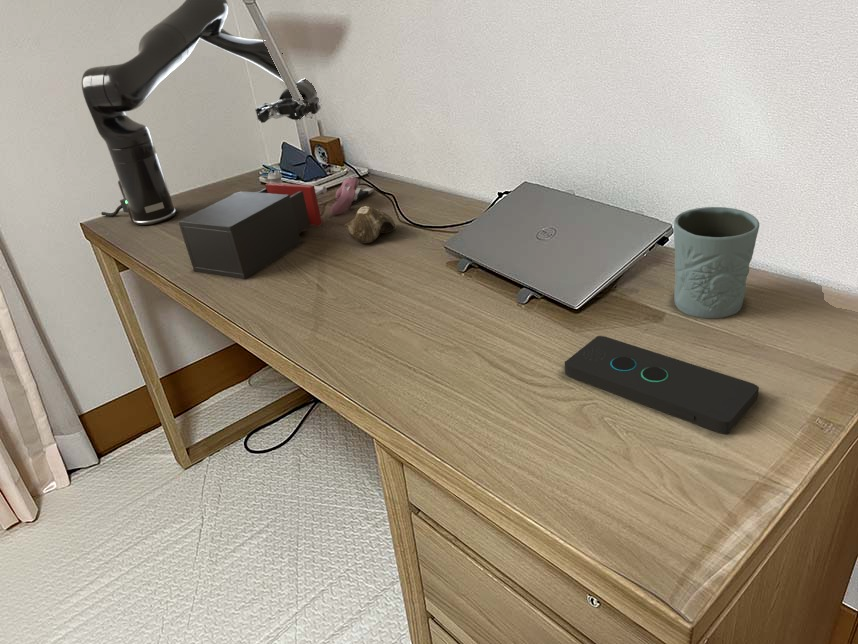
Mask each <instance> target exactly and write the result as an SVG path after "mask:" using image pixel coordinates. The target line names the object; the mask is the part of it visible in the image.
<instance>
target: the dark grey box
mask: <svg viewBox="0 0 858 644" xmlns="http://www.w3.org/2000/svg"><path fill="white" fill-rule="evenodd" d="M257 192H258V191H255V192H254V191H243V190H242V191H241V190H238V191H236V192H234V193H233V194H231V195H229V196H226V197H224V198H223V199H220V200H218V201H217V202H215V203H212V204H211V205H209V206H206V207H204V208H202V209H200V210H198V211H196V212H195V213H192V214H190V215H188V216H186V217H184V218H182V219H180V220H178V221H177V223H178V226H179V229H180V232H181V235H182V238H183V242H184V245H185V248H186V251H187V254H188V258H189V260H190V263H191V266H192V269H193V271H194V272H197V273H204V274H210V275H215V276H216V275H218V276H224V277H229V278H236V279H243V280H246V279H247V278H249V277H250V276H252V275H254V274H255V273H256V272H259V271H260V270H261V269H263V268H264V267H266V266H268V265H269V264H271V263H273V262H274V261H275V260H277V259H279V258H280V257H282V256H283V255H285V254H287V253H288V252H290V251H292V250H293V249H294V248H296V247H298V246H299V245H301V244H302V242H301V237H300V233H299V232H298V228H297V224H296V220H295V215H294V211H293V207H292V203H291V199H290V195H285V194H271V193H257Z"/></svg>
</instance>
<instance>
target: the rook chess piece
mask: <svg viewBox="0 0 858 644" xmlns="http://www.w3.org/2000/svg"><path fill="white" fill-rule="evenodd" d="M282 177H283V174H282V173H281V172H280V170H274V171H273V170H272V171H270V172H268V173H267V180H268V181H269V183H281V184H284V183H283V182H284V181H283V180H282V179H283V178H282Z"/></svg>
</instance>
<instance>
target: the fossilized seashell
mask: <svg viewBox="0 0 858 644" xmlns="http://www.w3.org/2000/svg"><path fill="white" fill-rule="evenodd" d="M396 226H397V225H396V222H395V221H394V218H393V217H392V216H391V215H389V214H387V213H385V212H384V211H381V209H380V208H379V207H376V208H374V207H371V206H369V205H365V206H362V207H360V208H358V210H357V212H356V214H355V217H354V218H353V219H352V220H350V221H348V222H347V223H345V224H344V228H346V230H347V232H348V234H349V236H350V237H351V238H352V239H353V240H354V241H356V242H358V243H361V244H370V243H372V242H374V241H375V240H376V239H377V238H378V237H379V236H380V234H385V233H390V232H393V231H394V230H395V229H396Z"/></svg>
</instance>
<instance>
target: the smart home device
mask: <svg viewBox="0 0 858 644" xmlns="http://www.w3.org/2000/svg"><path fill="white" fill-rule="evenodd" d="M564 374H565V375H566V376H567V377H569V378H571V379H574V380H577V381H579V382H581V383H585V384H587V385H590V386H593V387H595V388H598V389H601V390H603V391H606V392H607V393H608V392H609V393H611V394H614V395H617V396H619V397H621V398H624V399H627V400H630V401H633V402H635V403H638V404H641V405H643V406H645V407H648V408H651V409H653V410H657V411H659V412H662V413H665V414H667V415H670V416H672V417H675V418H677V419H680V420H683V421H686V422H688V423H691V424H693V425H697V426H699V427H701V428H704V429H707V430H710V431H712V432H715V433H719V434H723V435H728V434H730V432H731V431H732V430H733V429H734V428H735V427H736V425H737V424H738V423H739V422H740V421H741V419H742V418H743V417H744V416H745V415H746V414H747V412H748V411H749V410H750V409H751V408H752V407H753V406H754V404H755V403H756V402H757V401H758V398H759V391H760V386H758V385H757V384H755V383H753V382H750V381H747V380H744V379H741V378H737V377H734V376H731V375H728V374H724V373H721V372H719V371H716V370H712V369H708V368H706V367H702V366H700V365H697V364H693V363H690V362H688V361H687V362H686V361H684V360H680V359H676V358H675V357H672V356H668V355H665V354H662V353H659V352H655V351H652V350H649V349H646V348H643V347H640V346H636V345H633V344H630V343H627V342H624V341H621V340H618V339H616V338H615V339H614V338H612V337H608V336H604V335H597V336H595V337H594V338H593V339H592V340H590V341H589V342H588V343H587V344H585V345H584V346H583V347H582V348H581V349H579V350H578V351H576V352H575V353H574V354H573V355H571V356H570V357H569V358H568V359H566V360H565V361H564Z"/></svg>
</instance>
